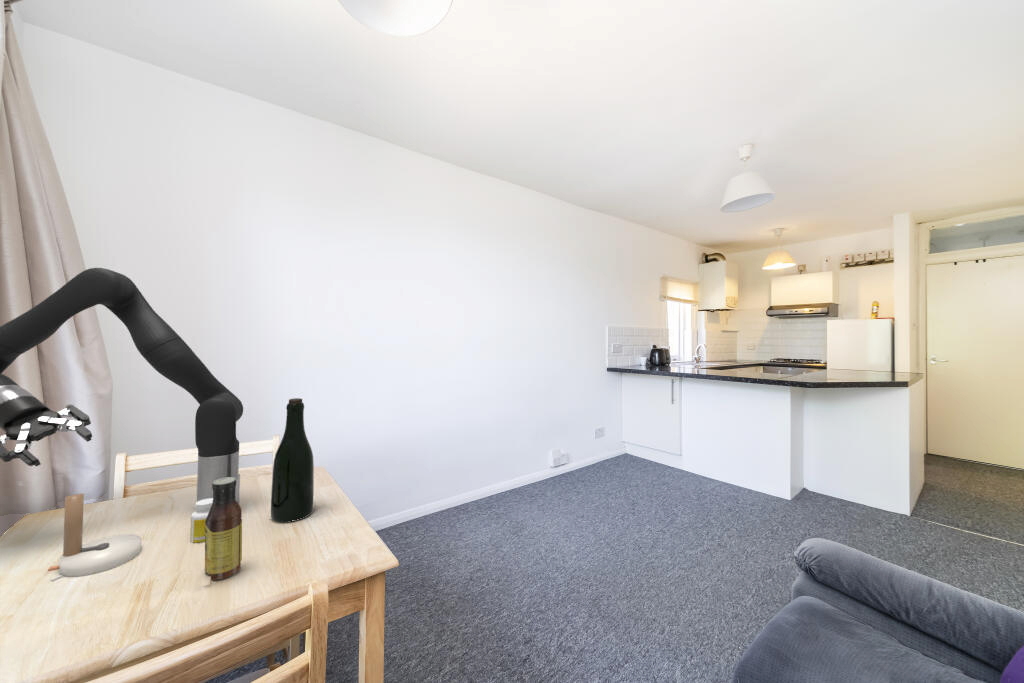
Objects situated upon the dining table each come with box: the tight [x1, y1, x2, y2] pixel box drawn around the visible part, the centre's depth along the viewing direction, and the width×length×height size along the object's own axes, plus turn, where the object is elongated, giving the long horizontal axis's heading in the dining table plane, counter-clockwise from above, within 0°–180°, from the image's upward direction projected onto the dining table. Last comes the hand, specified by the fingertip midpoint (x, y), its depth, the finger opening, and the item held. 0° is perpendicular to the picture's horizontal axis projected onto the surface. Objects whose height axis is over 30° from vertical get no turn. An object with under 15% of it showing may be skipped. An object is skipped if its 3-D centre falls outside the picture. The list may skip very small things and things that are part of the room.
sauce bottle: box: [204, 477, 243, 581], centre depth 80 cm, size 7×6×20 cm
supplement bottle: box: [189, 498, 213, 544], centre depth 92 cm, size 5×5×10 cm
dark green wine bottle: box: [270, 397, 315, 523], centre depth 107 cm, size 10×10×33 cm
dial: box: [58, 493, 142, 578], centre depth 82 cm, size 12×12×14 cm
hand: (64, 450), depth 85 cm, fingers open, 8 cm apart
